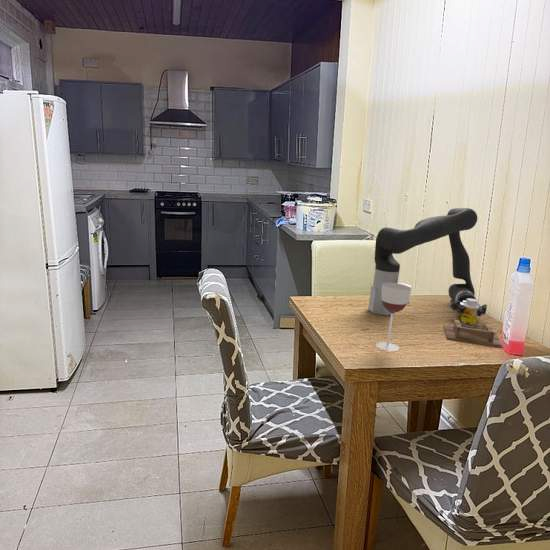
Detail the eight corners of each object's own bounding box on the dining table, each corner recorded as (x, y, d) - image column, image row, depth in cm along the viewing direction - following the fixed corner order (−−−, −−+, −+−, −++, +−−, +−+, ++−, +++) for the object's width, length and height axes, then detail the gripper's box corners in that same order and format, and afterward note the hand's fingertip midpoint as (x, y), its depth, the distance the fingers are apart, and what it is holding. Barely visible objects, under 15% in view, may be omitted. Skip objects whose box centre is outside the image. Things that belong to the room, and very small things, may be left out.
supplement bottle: (456, 323, 193) (461, 297, 191) (467, 322, 196) (471, 297, 193) (467, 328, 188) (472, 302, 186) (478, 327, 191) (483, 301, 188)
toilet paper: (386, 295, 227) (389, 280, 226) (411, 300, 222) (413, 285, 220) (380, 299, 220) (382, 283, 219) (406, 304, 215) (408, 288, 213)
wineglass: (395, 353, 156) (404, 291, 152) (369, 345, 161) (377, 284, 157) (405, 347, 163) (414, 287, 158) (380, 339, 168) (388, 281, 163)
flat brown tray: (443, 327, 187) (445, 316, 187) (495, 334, 184) (497, 323, 183) (446, 339, 174) (448, 327, 173) (502, 347, 170) (504, 335, 169)
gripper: (448, 289, 205) (452, 299, 189) (486, 294, 202) (493, 305, 186) (445, 307, 207) (449, 318, 191) (483, 312, 204) (489, 324, 187)
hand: (471, 312), depth 188 cm, fingers closed on supplement bottle, 5 cm apart
